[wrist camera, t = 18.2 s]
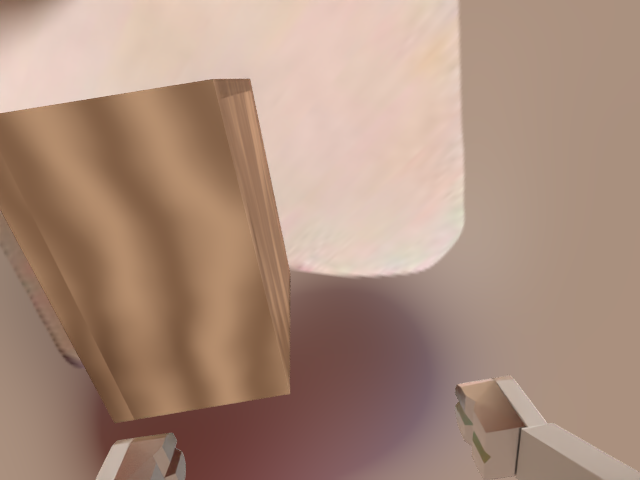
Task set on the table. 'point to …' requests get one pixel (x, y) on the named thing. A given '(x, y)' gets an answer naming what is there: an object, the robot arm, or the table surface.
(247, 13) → the table surface
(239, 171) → the cabinet
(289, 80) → the table surface
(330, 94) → the table surface
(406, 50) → the table surface
